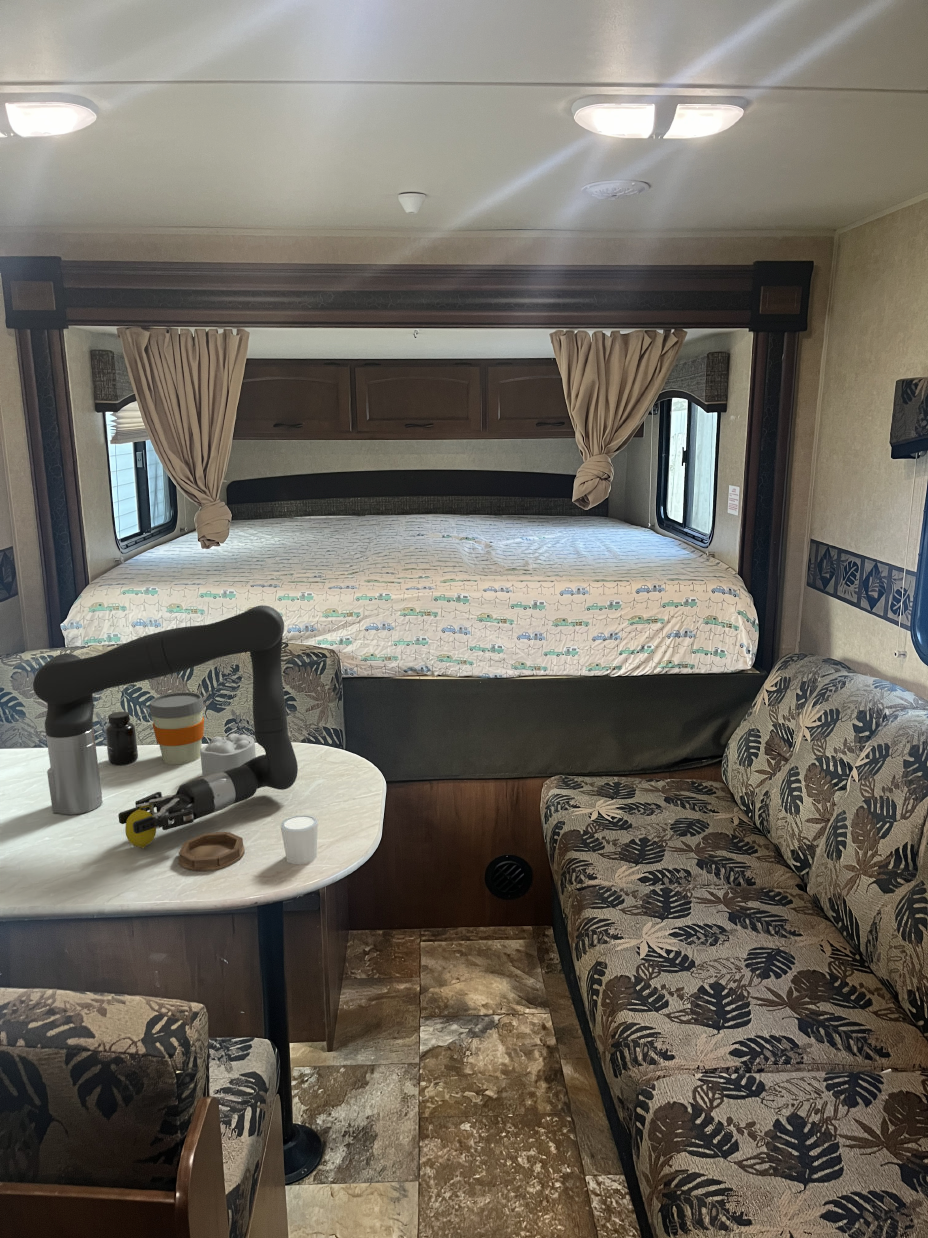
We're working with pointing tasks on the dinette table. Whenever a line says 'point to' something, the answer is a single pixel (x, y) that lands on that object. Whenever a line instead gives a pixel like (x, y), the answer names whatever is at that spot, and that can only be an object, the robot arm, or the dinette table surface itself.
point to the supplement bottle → (121, 739)
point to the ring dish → (211, 851)
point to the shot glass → (300, 838)
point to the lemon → (143, 837)
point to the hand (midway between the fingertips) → (127, 823)
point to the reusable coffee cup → (178, 726)
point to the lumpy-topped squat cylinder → (226, 753)
